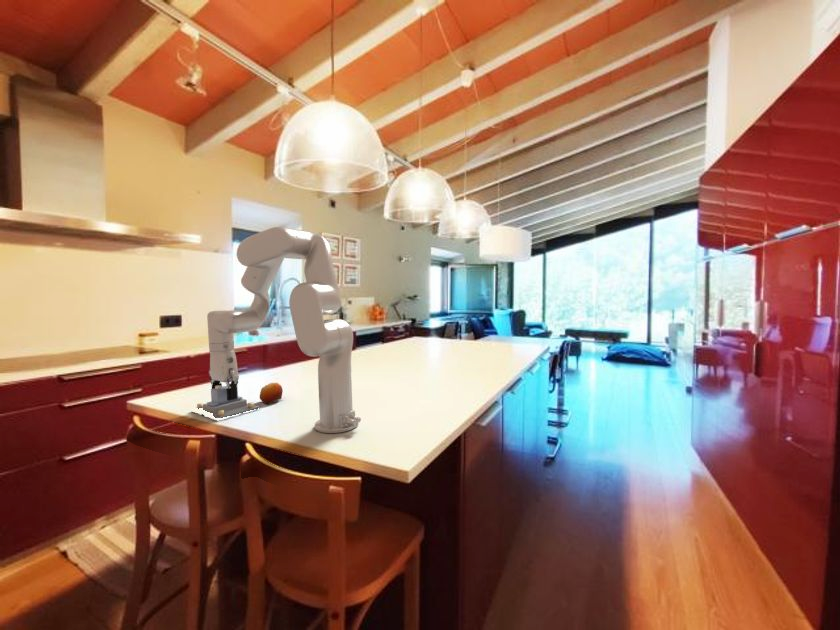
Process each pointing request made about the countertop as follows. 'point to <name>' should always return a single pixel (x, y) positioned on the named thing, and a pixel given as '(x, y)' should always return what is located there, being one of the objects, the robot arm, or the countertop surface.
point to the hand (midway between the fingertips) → (224, 397)
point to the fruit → (271, 393)
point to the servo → (220, 396)
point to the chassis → (228, 408)
